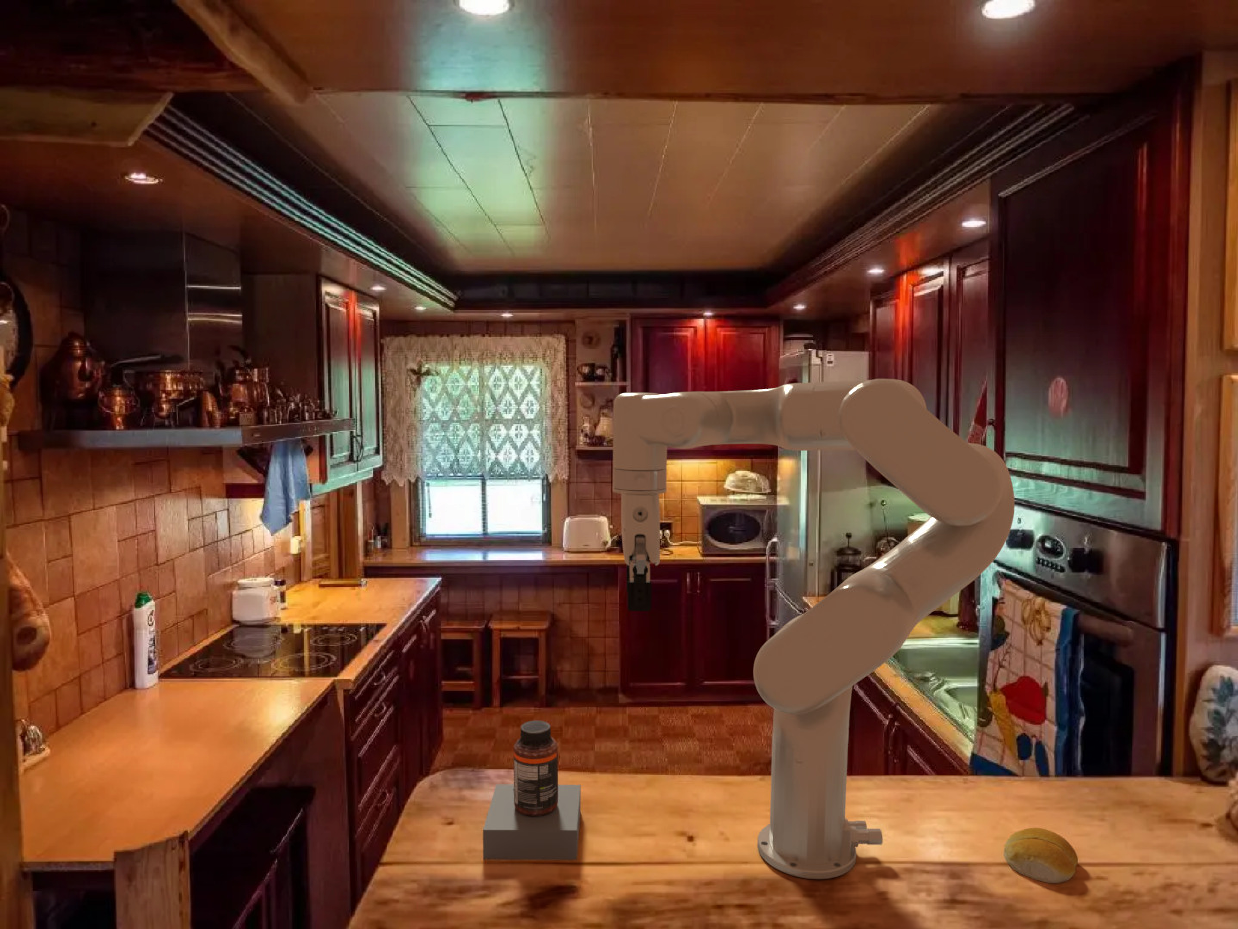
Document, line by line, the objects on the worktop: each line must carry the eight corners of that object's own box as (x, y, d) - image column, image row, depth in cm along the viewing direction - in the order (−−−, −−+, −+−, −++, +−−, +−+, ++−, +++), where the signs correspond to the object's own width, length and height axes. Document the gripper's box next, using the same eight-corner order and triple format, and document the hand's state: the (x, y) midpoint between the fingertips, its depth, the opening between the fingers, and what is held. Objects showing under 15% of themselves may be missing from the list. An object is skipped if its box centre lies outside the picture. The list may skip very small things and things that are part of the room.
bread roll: (1079, 858, 107) (1081, 829, 107) (1071, 893, 100) (1073, 862, 100) (1010, 838, 112) (1012, 810, 112) (997, 870, 105) (999, 840, 104)
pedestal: (580, 811, 118) (580, 785, 117) (576, 860, 106) (576, 830, 105) (496, 811, 118) (496, 784, 117) (483, 859, 106) (482, 830, 105)
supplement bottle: (532, 791, 115) (532, 713, 114) (566, 803, 112) (567, 723, 111) (504, 809, 110) (504, 728, 109) (539, 823, 107) (539, 739, 106)
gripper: (670, 489, 106) (668, 618, 108) (662, 474, 124) (661, 586, 125) (612, 488, 106) (611, 618, 108) (612, 474, 124) (611, 586, 125)
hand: (638, 601), depth 117 cm, fingers open, 9 cm apart
